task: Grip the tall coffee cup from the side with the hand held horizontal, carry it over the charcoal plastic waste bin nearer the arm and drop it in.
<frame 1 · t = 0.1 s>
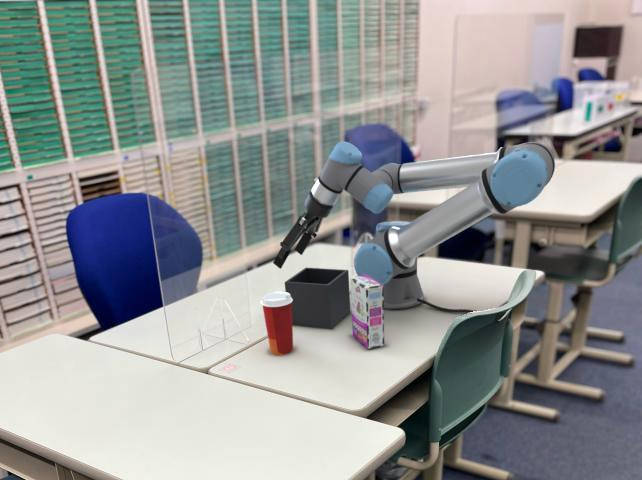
hand: (287, 258, 204), 15 cm above the table, tool tilted 35°, fingers open, 13 cm apart
coffee cup: (281, 351, 185), on the table
candy bar box: (368, 341, 186), on the table
trash bin: (319, 318, 203), on the table
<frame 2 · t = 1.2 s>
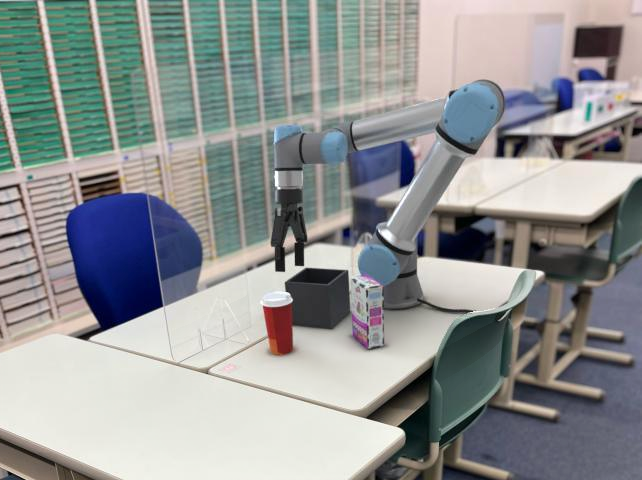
hand: (290, 268, 197), 15 cm above the table, tool pointing down, fingers open, 13 cm apart
nothing on the table moved.
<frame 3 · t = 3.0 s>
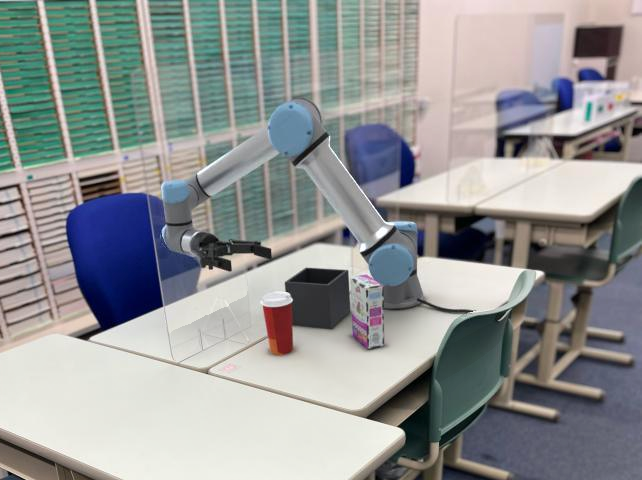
hand: (250, 259, 180), 23 cm above the table, tool horizontal, fingers open, 13 cm apart
nothing on the table moved.
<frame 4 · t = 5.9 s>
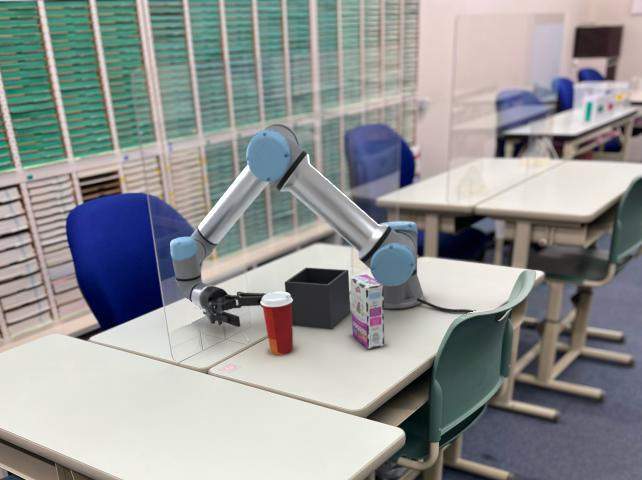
hand: (258, 314, 186), 9 cm above the table, tool horizontal, fingers open, 13 cm apart
nothing on the table moved.
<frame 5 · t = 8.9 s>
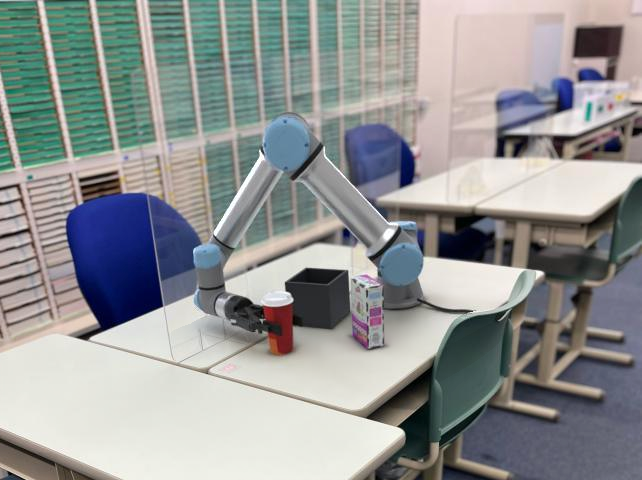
hand: (291, 326, 178), 8 cm above the table, tool horizontal, fingers closed on coffee cup, 7 cm apart
coffee cup: (281, 351, 185), on the table, touching gripper
everything else where it was.
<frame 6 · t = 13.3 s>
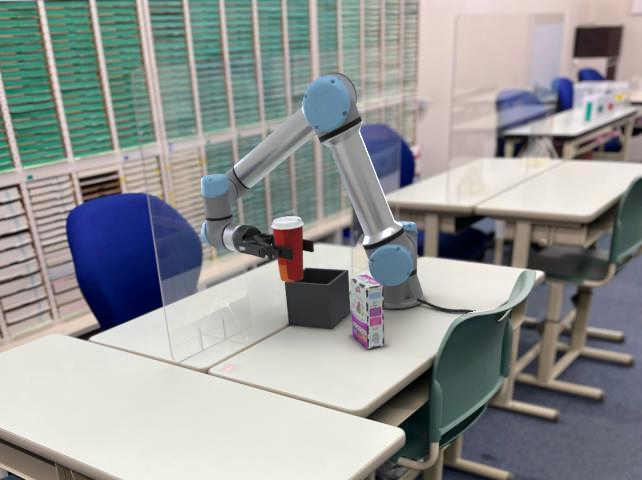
hand: (302, 250, 175), 25 cm above the table, tool horizontal, fingers closed on coffee cup, 7 cm apart
coffee cup: (291, 278, 183), point 17 cm above the table, touching gripper
everything else where it was.
when the fingers open (18 cm above the table, at t = 17.7 s): coffee cup drops 8 cm, resting on trash bin.
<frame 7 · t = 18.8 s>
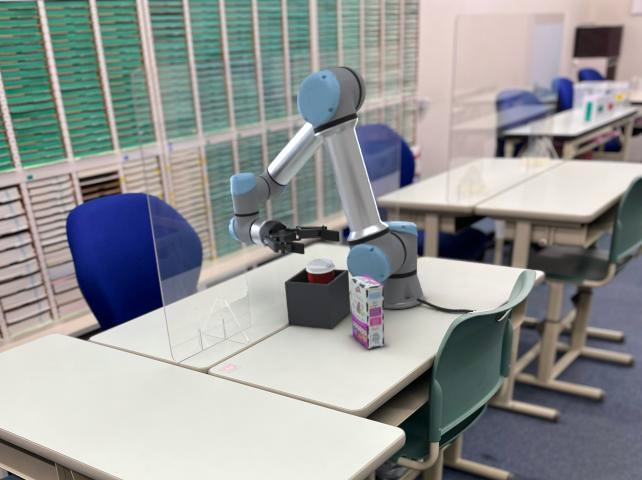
hand: (321, 242, 189), 22 cm above the table, tool horizontal, fingers open, 13 cm apart
coffee cup: (324, 313, 205), point 1 cm above the table, touching trash bin
everything else where it was.
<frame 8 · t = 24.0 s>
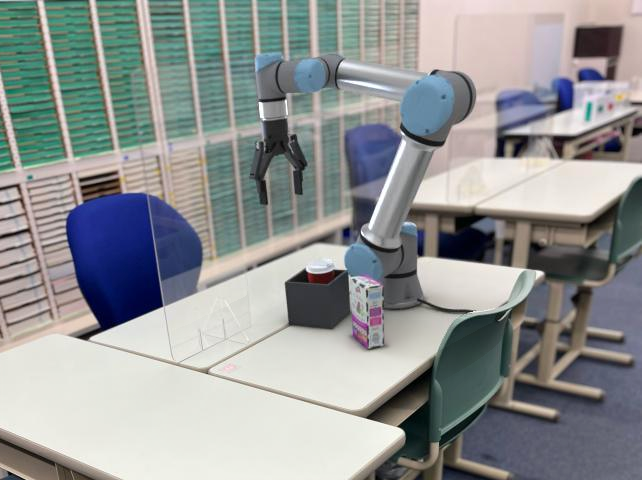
hand: (281, 199, 201), 31 cm above the table, tool pointing down, fingers open, 13 cm apart
nothing on the table moved.
at the end: coffee cup inside the target area in the trash bin (2.8 cm from its centre), point 0.7 cm above the trash bin's base; the gripper is holding nothing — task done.
